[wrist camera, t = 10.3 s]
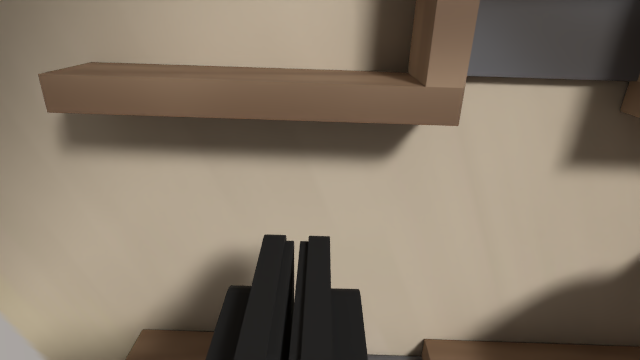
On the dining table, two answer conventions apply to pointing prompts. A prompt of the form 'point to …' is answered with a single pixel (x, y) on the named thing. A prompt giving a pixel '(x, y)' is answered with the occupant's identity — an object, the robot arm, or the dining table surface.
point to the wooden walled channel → (383, 106)
